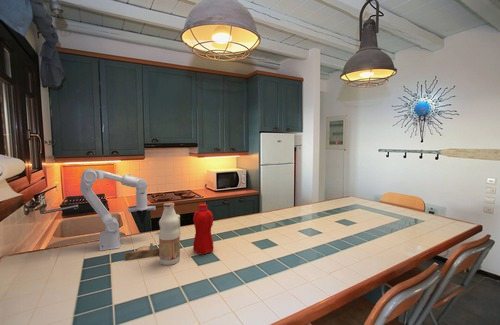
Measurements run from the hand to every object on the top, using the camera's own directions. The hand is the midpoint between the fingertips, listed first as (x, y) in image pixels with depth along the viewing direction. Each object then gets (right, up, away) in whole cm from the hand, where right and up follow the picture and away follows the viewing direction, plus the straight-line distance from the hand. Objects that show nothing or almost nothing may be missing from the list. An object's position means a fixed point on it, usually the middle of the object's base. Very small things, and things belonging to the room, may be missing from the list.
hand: (142, 223), depth 146 cm
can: (+14, -10, +12) cm, 21 cm away
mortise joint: (+8, -12, -17) cm, 22 cm away
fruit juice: (+23, -13, -23) cm, 35 cm away
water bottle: (+38, -12, -11) cm, 41 cm away
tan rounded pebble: (+7, -12, -16) cm, 21 cm away
